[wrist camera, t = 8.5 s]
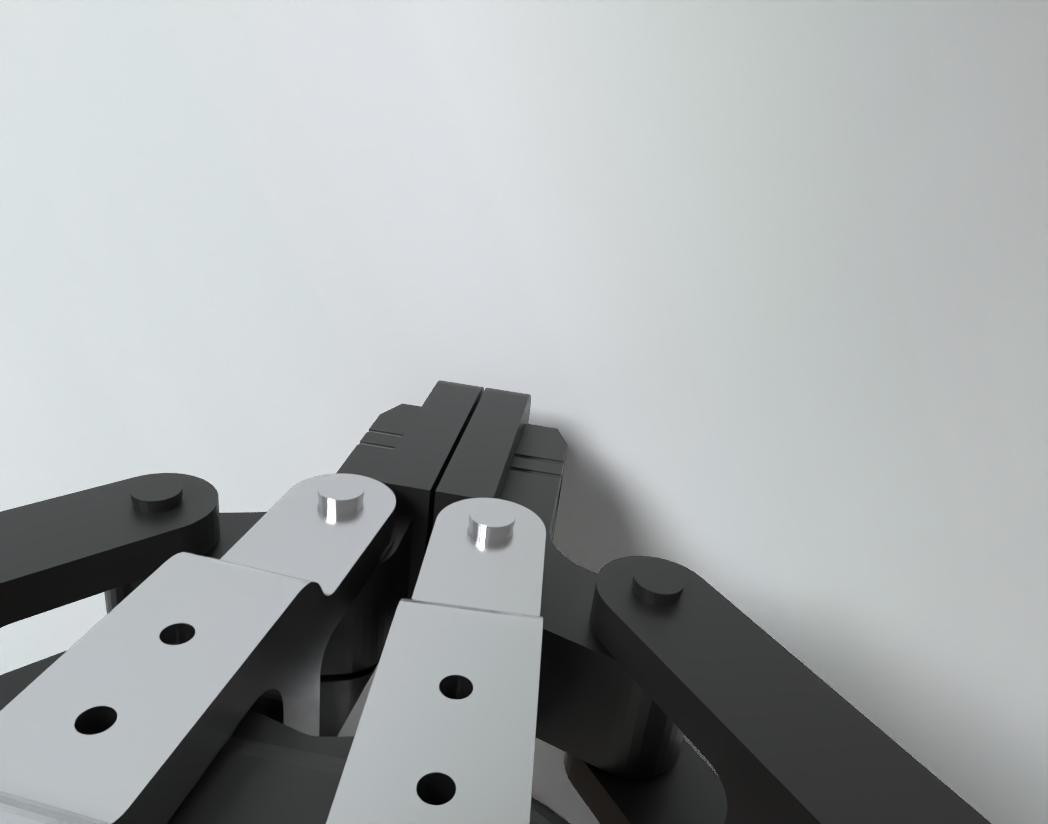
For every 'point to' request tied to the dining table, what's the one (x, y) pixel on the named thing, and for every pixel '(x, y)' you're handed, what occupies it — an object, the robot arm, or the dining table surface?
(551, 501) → the robot arm
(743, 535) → the dining table surface
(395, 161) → the dining table surface
